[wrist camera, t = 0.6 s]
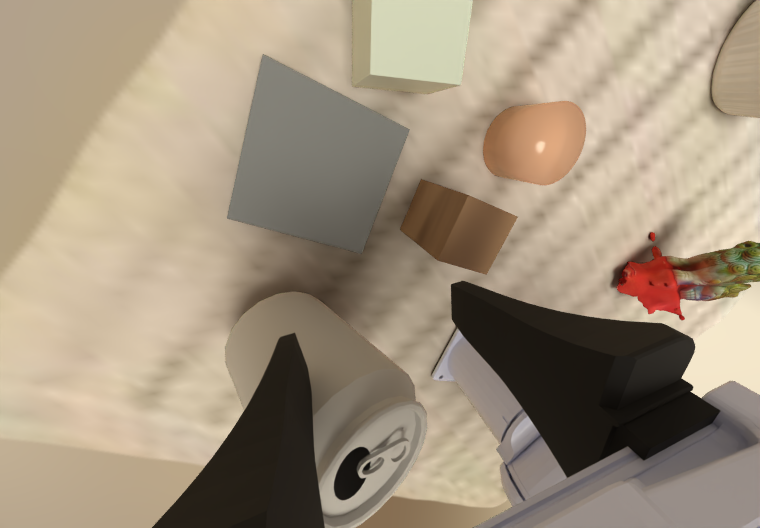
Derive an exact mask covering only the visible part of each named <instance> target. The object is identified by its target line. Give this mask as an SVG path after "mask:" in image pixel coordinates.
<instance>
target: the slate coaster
mask: <svg viewBox="0 0 760 528" xmlns="http://www.w3.org/2000/svg"><path fill="white" fill-rule="evenodd" d="M409 130H410V129H408V128H406V127H404V126H402V125H400V124H398V123H396V122H394V121H392V120H390V119H388V118H386V117H384V116H382V115H380V114H378V113H377V112H375V111H373V110H371V109H369V108H367V107H365V106H363V105H361V104H359V103H357V102H355V101H353V100H351V99H349V98H347V97H345V96H343V95H341V94H340V93H338V92H336V91H334V90H332V89H330V88H328V87H326V86H324V85H322V84H320V83H318V82H316V81H314V80H312V79H310V78H308V77H306V76H304V75H303V74H301V73H299V72H297V71H295V70H293V69H291V68H289V67H287V66H285V65H283V64H281V63H279V62H277V61H275V60H273V59H271V58H269V57H267V56H266V55H264V54H263V56H262V60H261V65H260V69H259V74H258V78H257V83H256V88H255V92H254V97H253V101H252V106H251V110H250V115H249V120H248V124H247V129H246V133H245V138H244V142H243V147H242V152H241V156H240V161H239V165H238V170H237V174H236V179H235V184H234V188H233V193H232V197H231V202H230V206H229V211H228V216H227V219H231V220H235V221H239V222H242V223H246V224H250V225H254V226H258V227H261V228H265V229H269V230H273V231H277V232H280V233H284V234H288V235H292V236H295V237H299V238H303V239H307V240H311V241H314V242H318V243H322V244H326V245H330V246H333V247H337V248H341V249H345V250H349V251H352V252H356V253H360V254H362V252H363V249H364V247H365V244H366V242H367V239H368V237H369V234H370V231H371V229H372V226H373V224H374V221H375V218H376V216H377V213H378V211H379V208H380V205H381V203H382V200H383V198H384V195H385V192H386V190H387V187H388V185H389V182H390V179H391V177H392V174H393V172H394V169H395V166H396V164H397V161H398V159H399V156H400V153H401V151H402V148H403V146H404V143H405V141H406V138H407V135H408V133H409Z"/></svg>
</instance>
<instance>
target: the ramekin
mask: <svg viewBox="0 0 760 528" xmlns="http://www.w3.org/2000/svg"><path fill="white" fill-rule="evenodd" d="M711 93H712V98H713V101H714V103H715V105H716V106H717V107H718V108H719V109H720V110H721V111H722V112H725V113H726V114H730V115H738V116H747V117H755V118H760V0H756V1H755V2H754V3H752V4H751V5H750V6H749V8H748V9H747V10H746V11H745V12H744V13H743V15H742V16H741V17H740V18H739V20H738V21H737V23H736V24H735V26H734V27H733V29H732V30H731V32H730V34H729V35H728V37H727V39H726V41H725V43H724V45H723V47H722V49H721V51H720V54H719V56H718V59H717V62H716V65H715V68H714V72H713V77H712V88H711Z"/></svg>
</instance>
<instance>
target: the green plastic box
mask: <svg viewBox="0 0 760 528" xmlns="http://www.w3.org/2000/svg"><path fill="white" fill-rule="evenodd" d="M472 3H473V0H352V87H362V88H372V89H382V90H392V91H402V92H412V93H421V94H430V93H434V92H437V91H441V90H445V89H448V88H452V87H456V86H459V85H461V82H462V75H463V68H464V61H465V53H466V46H467V39H468V32H469V25H470V17H471V10H472Z"/></svg>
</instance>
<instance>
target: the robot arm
mask: <svg viewBox="0 0 760 528" xmlns="http://www.w3.org/2000/svg"><path fill="white" fill-rule="evenodd" d="M451 304H452V320H453V322H454V323H455V325H456V326H457V330H456V331H455V333H454V335H453V337H452V339H451V341H450V342H449V344H448V346H447V348H446V350H445V352H444V353H443V355H442V357H441V359H440V361H439V363H438V364H437V366H436V368H435V370H434V372H433V374H432V378H433V379H434V380H440V381H456V382H457V384H458V385H459V387H460V388H461V390H462V391H463V392H464V394H465V395H466V397H467V398H468V400H469V401H470V402H471V404H472V405H473V407H474V408H475V409H476V411H477V412H478V414H479V415H480V417H481V418H482V419H483V421H484V422H485V424H486V425H487V427H488V428H489V429H490V431H491V432H492V434H493V435H494V437H495V438H496V439H497V441H498V442H499V444H500V445H499V446H498V447H497V448H496V450H497V452H498V453H499V455H500V456H501V457H502V459H503V460H504V462H503V463H501V465H500V474H501V482H502V486H503V488H504V491H505V493H506V495H507V497H508V499H509V501H510V503H511V505H512V506H513V507H511V508H509V509H508V510H506V511H504V512H502V513H500V514H498V515H496V516H494V517H492V518H490V519H488V520H486V521H485V522H483V523H481V524H479V525H477V526H475V527H473V528H760V395H759V394H757V393H755V392H753V391H751V390H749V389H748V388H746V387H744V386H742V385H740V384H739V383H737V382H735V381H729V382H727V383H725V384H723V385H721V386H719V387H717V388H715V389H713V390H711V391H710V392H708V393H707V394H705V395H704V396H703V397H702V398H700V397H698V396H696V395H695V394H693V393H692V392H690V391H692V390H693V386H692V385H691V384H689V383H688V382H686V381H685V380H683V379H681V377H682V375H683V374H684V372H685V370H686V368H687V366H688V364H689V362H690V360H691V358H692V356H693V354H694V350H695V344H694V341H693V339H692V338H690V337H689V336H687V335H685V334H683V333H681V332H679V331H677V330H675V329H673V328H671V327H669V326H667V325H665V324H662V323H647V322H631V321H619V320H610V319H601V318H594V317H587V316H581V315H576V314H570V313H565V312H560V311H556V310H551V309H547V308H543V307H539V306H536V305H532V304H529V303H525V302H522V301H519V300H516V299H513V298H510V297H507V296H504V295H501V294H498V293H496V292H493V291H490V290H488V289H485V288H482V287H479V286H477V285H474V284H471V283H468V282H465V281H461V282H457V283H454V284H451ZM152 528H325V525H324V519H323V512H322V505H321V498H320V491H319V484H318V477H317V469H316V462H315V452H314V435H313V410H312V390H311V384H310V377H309V371H308V367H307V364H306V361H305V358H304V356H303V353H302V350H301V348H300V345H299V342H298V339H297V337H296V334H295V333H292V334H288V335H285V336H282V337H280V338H279V339H278V341H277V344H276V347H275V349H274V352H273V354H272V357H271V359H270V361H269V364H268V366H267V368H266V370H265V372H264V374H263V377H262V379H261V381H260V383H259V385H258V387H257V389H256V390H255V392H254V394H253V396H252V398H251V400H250V402H249V403H248V405H247V407H246V409H245V410H244V412H243V414H242V415H241V417H240V418H239V420H238V421H237V423H236V425H235V426H234V428H233V429H232V431H231V432H230V434H229V435H228V436H227V438H226V439H225V441H224V442H223V444H222V445H221V446H220V448H219V449H218V450H217V452H216V453H215V455H214V456H213V457H212V459H211V460H210V461H209V462H208V464H207V465H206V466H205V468H204V469H203V470H202V471H201V473H200V474H199V475H198V476H197V477H196V479H195V480H194V481H193V482H192V483H191V485H190V486H189V487H188V488H187V489H186V491H185V492H184V493H183V494H182V495H181V496H180V497H179V499H178V500H177V501H176V502H175V503H174V504H173V505H172V506H171V507H170V509H169V510H168V511H167V512H166V513H165V514H164V515H163V516H162V518H160V520H158V522H157V523H156V524H155V525H154V526H153V527H152Z"/></svg>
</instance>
